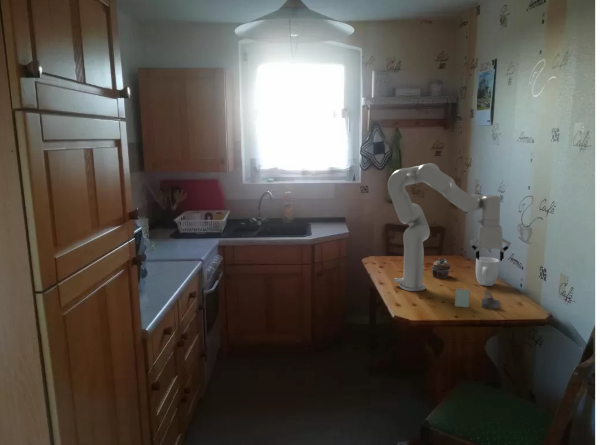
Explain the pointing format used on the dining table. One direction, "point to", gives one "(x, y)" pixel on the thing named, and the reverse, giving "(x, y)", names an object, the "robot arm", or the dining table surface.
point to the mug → (487, 270)
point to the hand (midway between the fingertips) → (489, 259)
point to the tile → (462, 297)
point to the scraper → (489, 300)
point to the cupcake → (440, 268)
